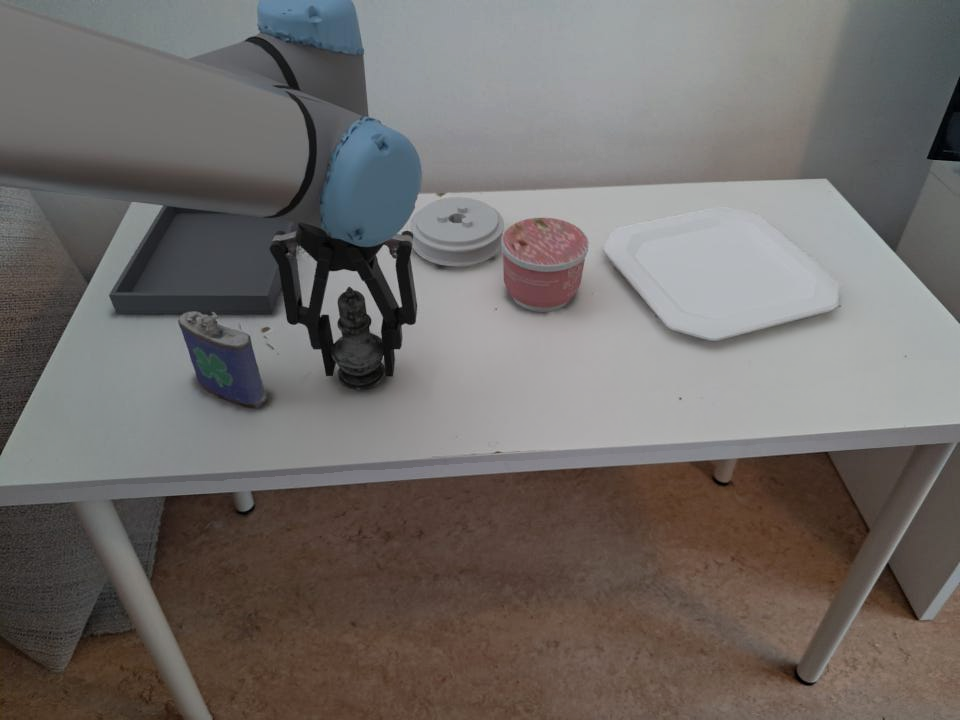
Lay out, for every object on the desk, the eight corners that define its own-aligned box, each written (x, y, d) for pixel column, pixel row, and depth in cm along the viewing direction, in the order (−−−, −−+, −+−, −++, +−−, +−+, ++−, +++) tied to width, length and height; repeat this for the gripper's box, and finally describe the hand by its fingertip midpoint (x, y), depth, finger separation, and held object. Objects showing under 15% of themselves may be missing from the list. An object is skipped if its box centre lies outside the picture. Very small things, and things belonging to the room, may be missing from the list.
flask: (272, 397, 79) (251, 321, 72) (253, 414, 77) (230, 338, 70) (209, 368, 83) (183, 293, 75) (190, 384, 81) (161, 309, 73)
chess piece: (328, 388, 80) (311, 301, 71) (344, 352, 84) (330, 267, 76) (380, 394, 79) (369, 308, 71) (394, 358, 83) (385, 272, 75)
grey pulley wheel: (393, 242, 101) (390, 211, 98) (463, 211, 107) (462, 180, 104) (451, 284, 94) (450, 251, 91) (522, 248, 100) (523, 216, 97)
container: (561, 262, 98) (565, 210, 93) (596, 308, 91) (604, 255, 85) (488, 278, 95) (488, 226, 90) (518, 327, 88) (521, 273, 83)
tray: (272, 314, 90) (267, 295, 88) (116, 313, 90) (108, 295, 88) (305, 213, 107) (302, 196, 105) (174, 213, 107) (168, 195, 105)
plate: (856, 313, 90) (863, 299, 89) (683, 359, 84) (686, 345, 82) (739, 213, 107) (743, 200, 106) (587, 245, 101) (589, 231, 100)
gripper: (440, 160, 68) (447, 345, 84) (237, 159, 68) (282, 345, 84) (436, 202, 62) (444, 392, 78) (216, 201, 62) (268, 391, 78)
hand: (361, 367), depth 81 cm, fingers closed on chess piece, 6 cm apart
